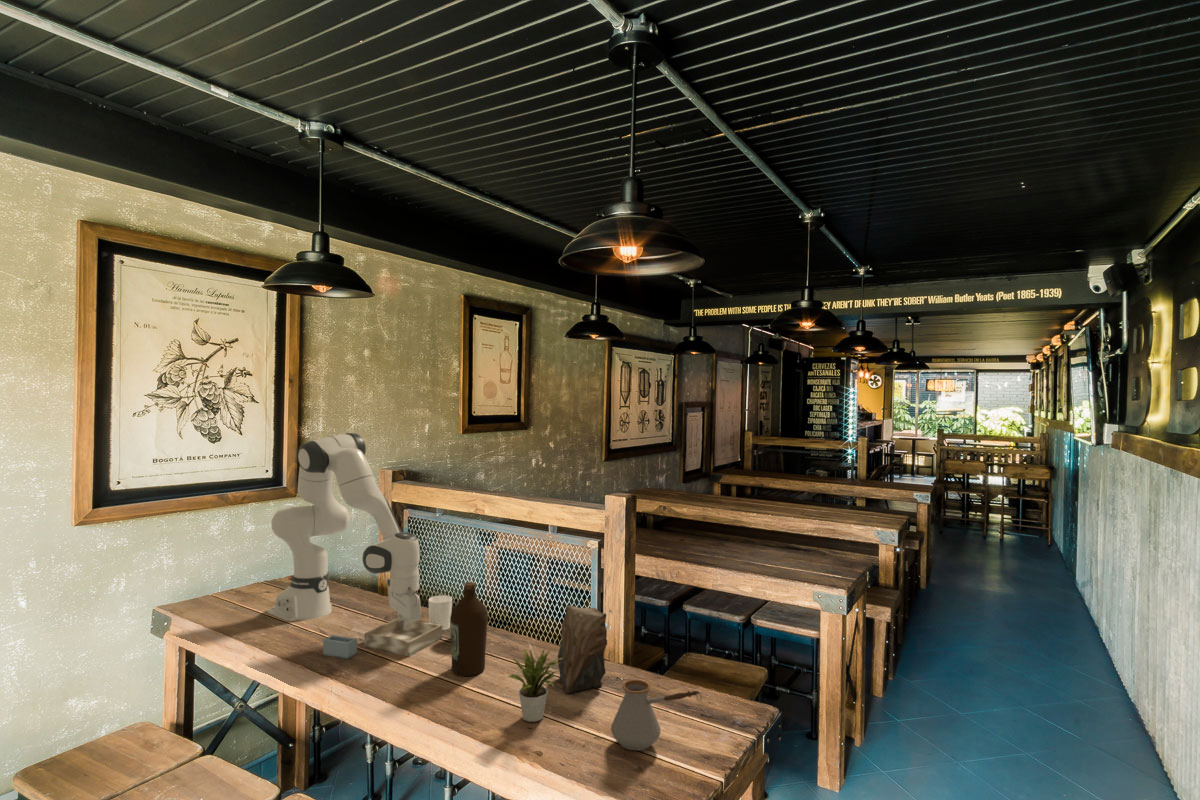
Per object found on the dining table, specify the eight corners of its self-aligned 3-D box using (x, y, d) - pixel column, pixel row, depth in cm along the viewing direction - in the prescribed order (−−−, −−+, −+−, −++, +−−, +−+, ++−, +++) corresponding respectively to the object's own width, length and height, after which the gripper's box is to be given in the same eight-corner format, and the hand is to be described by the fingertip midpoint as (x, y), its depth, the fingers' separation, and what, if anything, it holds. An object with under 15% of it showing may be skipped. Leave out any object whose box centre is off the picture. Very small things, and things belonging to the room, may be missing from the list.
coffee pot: (601, 746, 141) (602, 680, 141) (624, 723, 151) (625, 662, 151) (690, 774, 131) (691, 702, 131) (708, 748, 141) (709, 681, 141)
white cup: (437, 633, 208) (438, 604, 208) (423, 628, 213) (423, 599, 213) (456, 627, 214) (457, 598, 214) (441, 622, 219) (442, 593, 219)
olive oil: (481, 659, 188) (483, 576, 188) (491, 673, 178) (492, 586, 178) (446, 665, 183) (447, 580, 183) (453, 680, 174) (455, 590, 174)
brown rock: (556, 673, 179) (557, 604, 179) (598, 669, 182) (599, 601, 182) (564, 693, 166) (565, 619, 167) (610, 689, 170) (611, 615, 170)
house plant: (553, 737, 145) (554, 667, 145) (497, 731, 147) (498, 661, 147) (567, 707, 159) (568, 643, 159) (515, 702, 161) (516, 639, 161)
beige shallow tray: (364, 647, 195) (364, 633, 195) (398, 630, 210) (399, 617, 210) (409, 657, 189) (409, 642, 189) (442, 639, 203) (442, 625, 204)
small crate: (323, 656, 188) (323, 639, 188) (332, 651, 192) (332, 635, 192) (347, 660, 186) (348, 643, 186) (356, 655, 190) (357, 638, 190)
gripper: (426, 590, 193) (425, 635, 193) (403, 575, 210) (403, 616, 209) (406, 594, 189) (405, 639, 189) (385, 578, 206) (384, 620, 206)
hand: (404, 627), depth 199 cm, fingers closed
